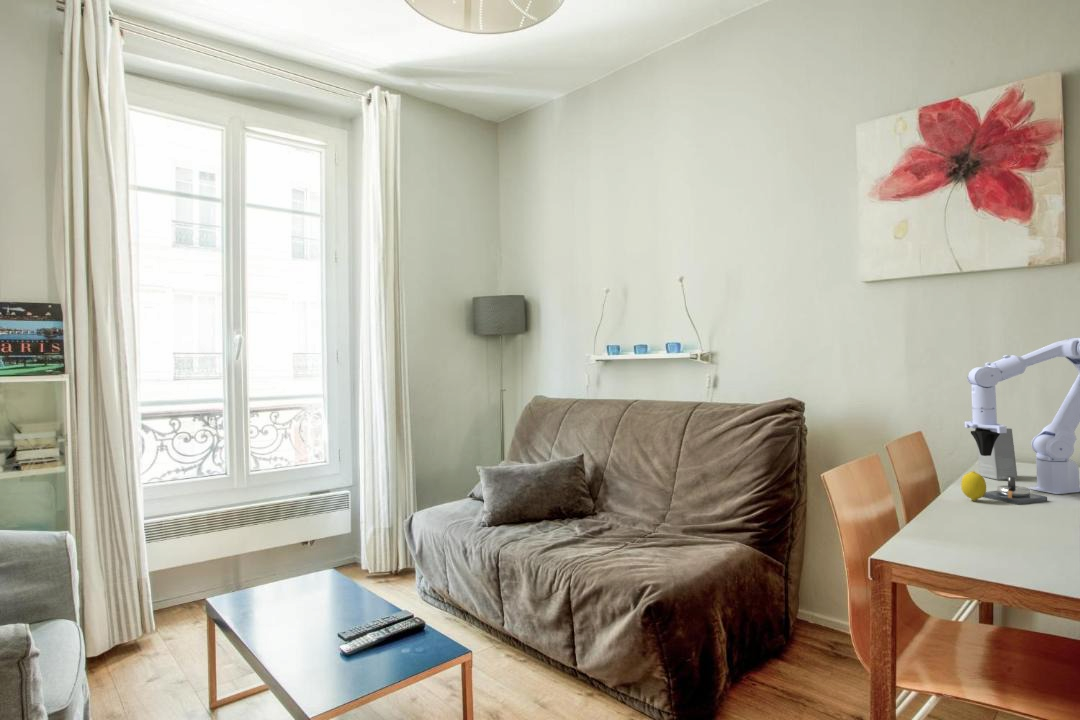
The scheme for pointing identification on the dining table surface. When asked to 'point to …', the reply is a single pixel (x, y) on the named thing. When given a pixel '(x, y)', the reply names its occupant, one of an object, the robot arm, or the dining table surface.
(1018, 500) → the dial plate
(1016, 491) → the dial
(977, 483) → the lemon
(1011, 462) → the skincare box
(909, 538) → the dining table surface
